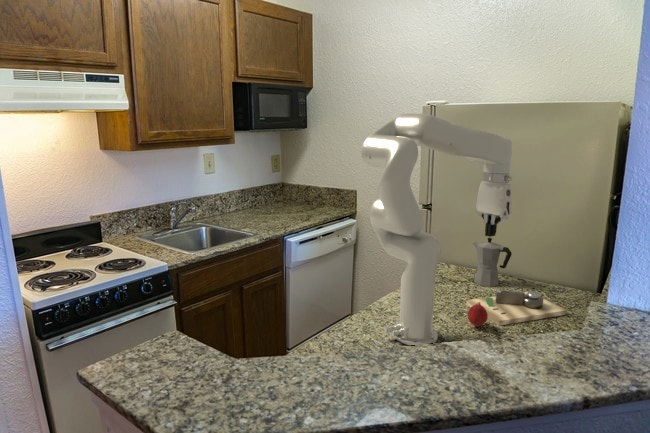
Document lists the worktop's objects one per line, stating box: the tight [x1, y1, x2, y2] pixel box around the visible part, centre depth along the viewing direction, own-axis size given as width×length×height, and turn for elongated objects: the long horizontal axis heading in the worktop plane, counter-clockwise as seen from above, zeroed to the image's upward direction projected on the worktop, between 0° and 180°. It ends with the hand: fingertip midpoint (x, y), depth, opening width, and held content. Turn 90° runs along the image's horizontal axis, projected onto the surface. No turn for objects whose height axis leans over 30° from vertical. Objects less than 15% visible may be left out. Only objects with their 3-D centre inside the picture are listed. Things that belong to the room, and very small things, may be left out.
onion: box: [467, 302, 488, 328], centre depth 141 cm, size 6×6×8 cm
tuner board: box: [466, 291, 568, 326], centre depth 155 cm, size 26×17×2 cm, turn 108°
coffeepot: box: [472, 237, 513, 288], centre depth 176 cm, size 15×9×18 cm, turn 43°
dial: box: [495, 289, 545, 309], centre depth 154 cm, size 15×6×4 cm, turn 78°
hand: (490, 235), depth 148 cm, fingers closed
